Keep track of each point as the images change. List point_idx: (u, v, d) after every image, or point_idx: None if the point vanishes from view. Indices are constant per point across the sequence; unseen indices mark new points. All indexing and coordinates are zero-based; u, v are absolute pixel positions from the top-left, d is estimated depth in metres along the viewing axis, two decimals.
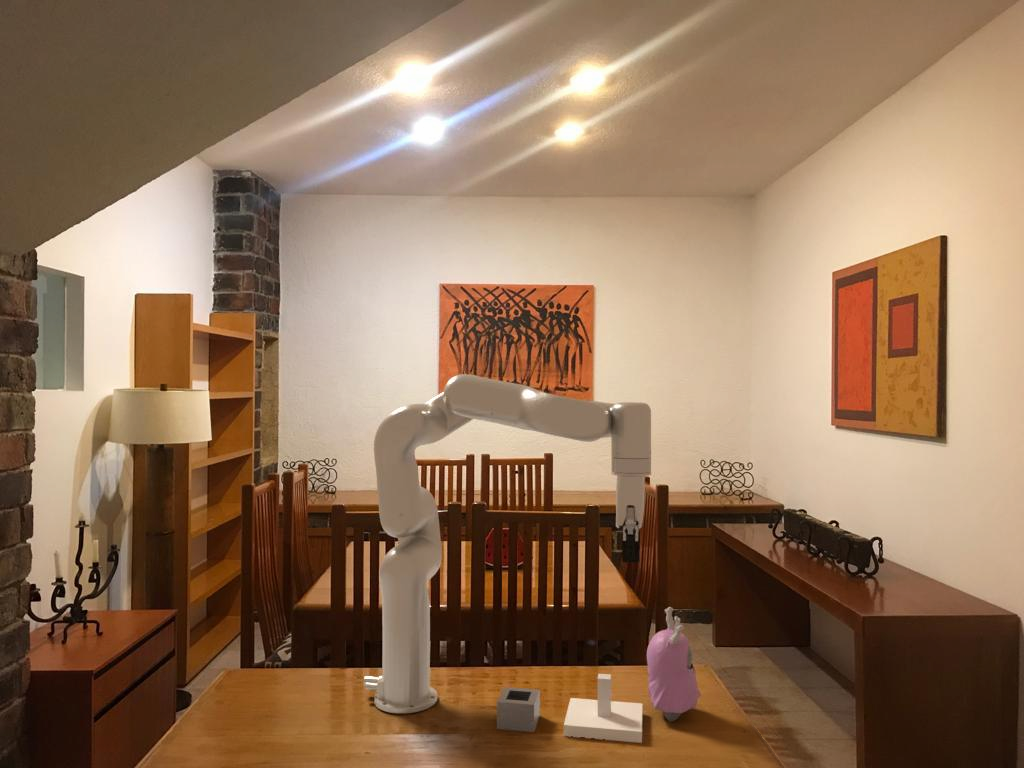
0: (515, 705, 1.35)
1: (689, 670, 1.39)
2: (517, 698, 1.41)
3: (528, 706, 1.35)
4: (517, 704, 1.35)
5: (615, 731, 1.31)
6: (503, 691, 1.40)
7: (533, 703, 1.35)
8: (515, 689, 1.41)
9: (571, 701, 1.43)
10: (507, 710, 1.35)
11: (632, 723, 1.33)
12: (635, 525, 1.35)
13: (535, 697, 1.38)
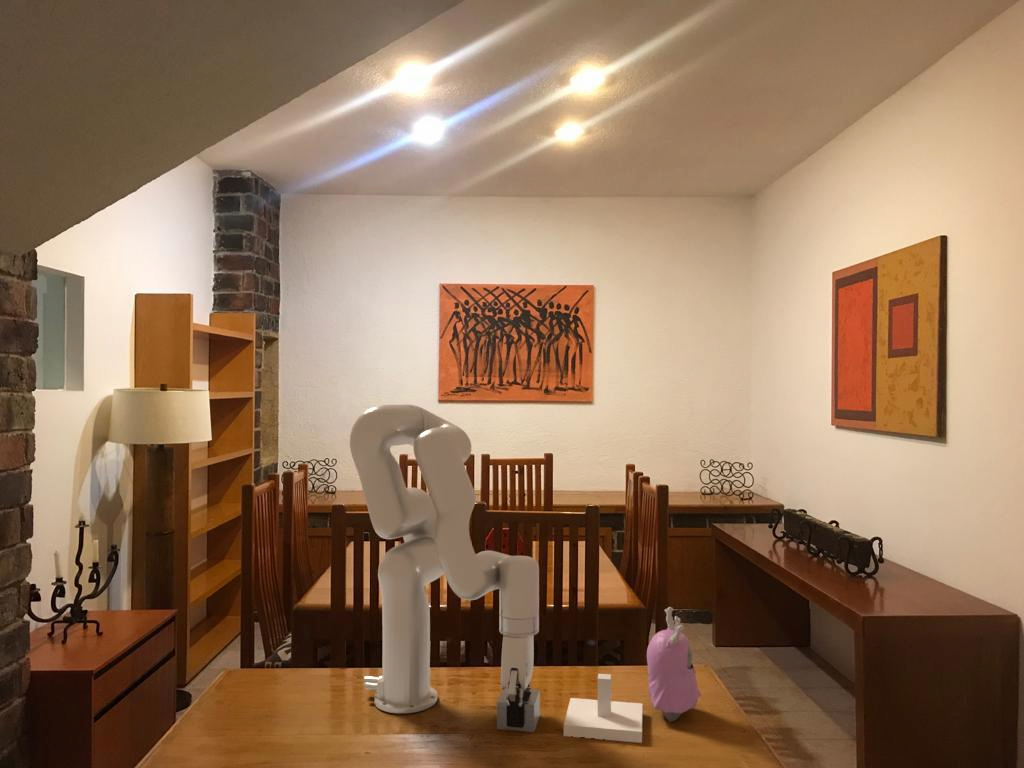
0: None
1: (689, 670, 1.39)
2: None
3: (528, 706, 1.34)
4: None
5: (615, 731, 1.31)
6: (503, 691, 1.40)
7: (533, 703, 1.35)
8: None
9: (571, 701, 1.43)
10: None
11: (632, 723, 1.33)
12: (519, 689, 1.34)
13: (535, 697, 1.38)
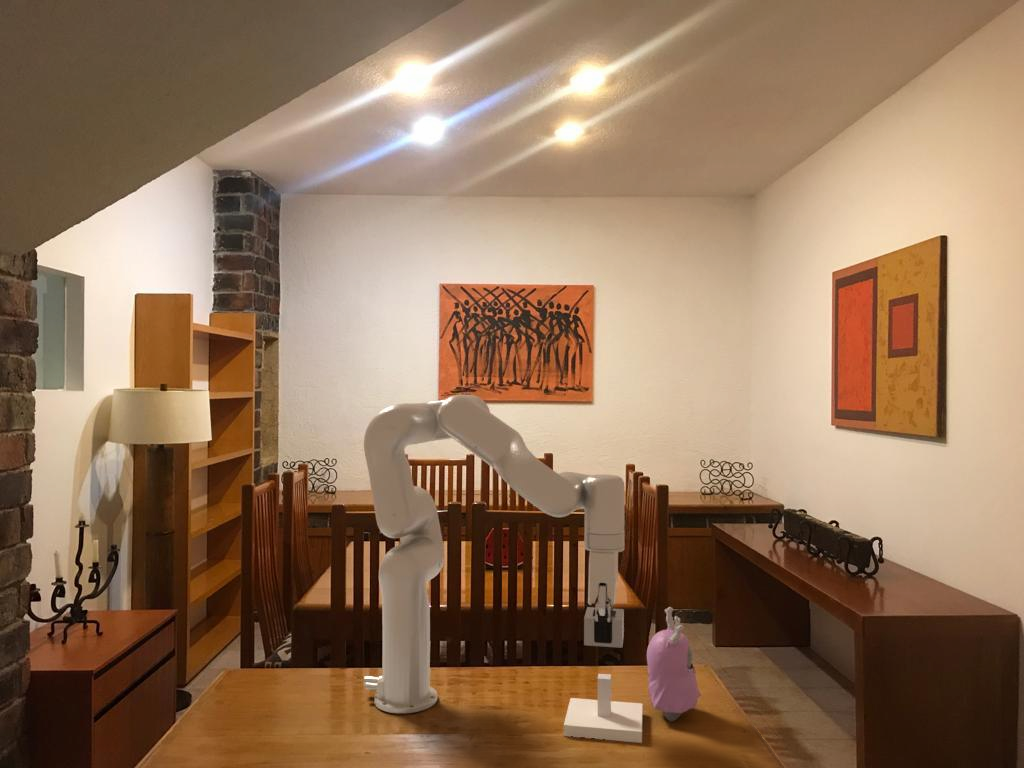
0: None
1: (689, 670, 1.39)
2: None
3: (616, 622, 1.34)
4: None
5: (615, 731, 1.31)
6: (588, 610, 1.40)
7: (621, 619, 1.34)
8: None
9: (571, 701, 1.43)
10: None
11: (632, 723, 1.33)
12: (607, 605, 1.34)
13: (621, 614, 1.37)
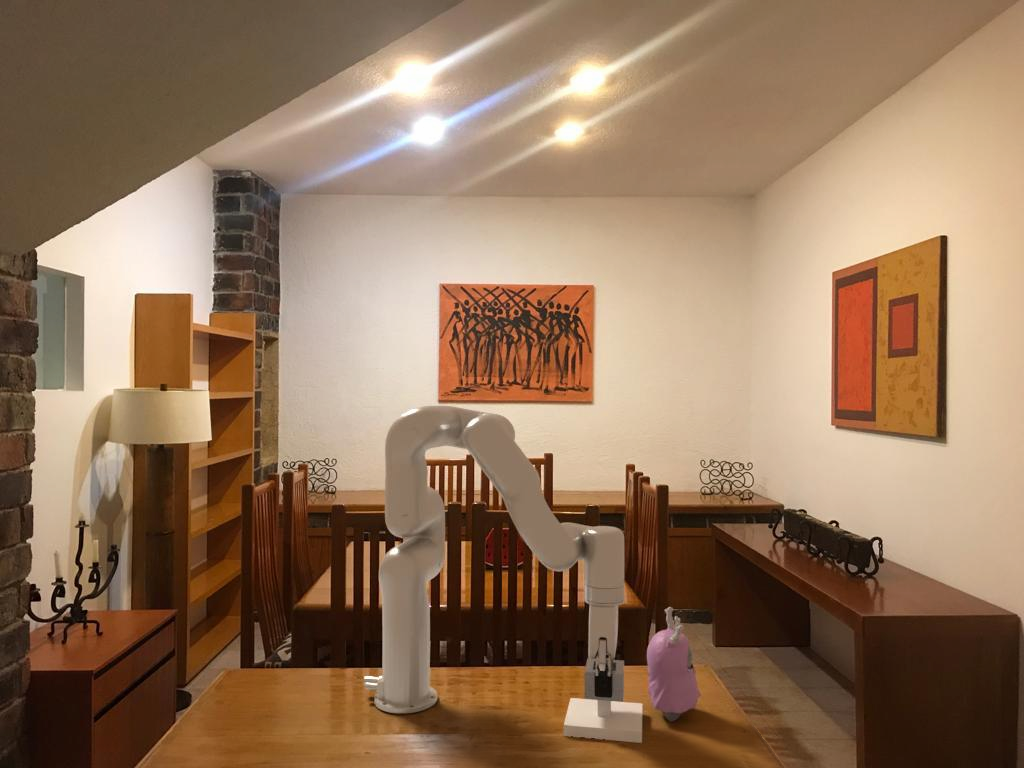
0: None
1: (689, 670, 1.39)
2: None
3: (617, 676, 1.34)
4: None
5: (615, 731, 1.31)
6: (588, 662, 1.39)
7: (621, 673, 1.34)
8: None
9: (571, 701, 1.43)
10: None
11: (632, 723, 1.33)
12: (608, 659, 1.33)
13: (622, 667, 1.37)
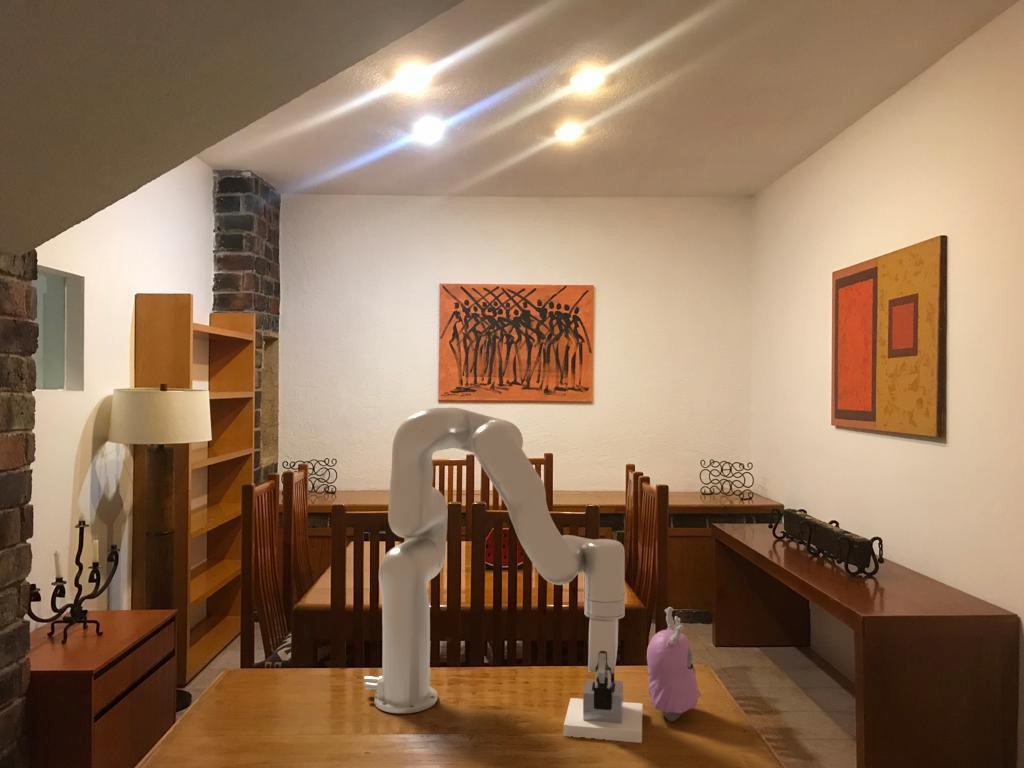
0: None
1: (689, 670, 1.39)
2: None
3: (615, 697, 1.34)
4: None
5: (615, 731, 1.31)
6: (587, 682, 1.40)
7: (620, 694, 1.34)
8: None
9: (571, 701, 1.43)
10: None
11: (632, 723, 1.33)
12: (607, 671, 1.33)
13: (620, 688, 1.37)
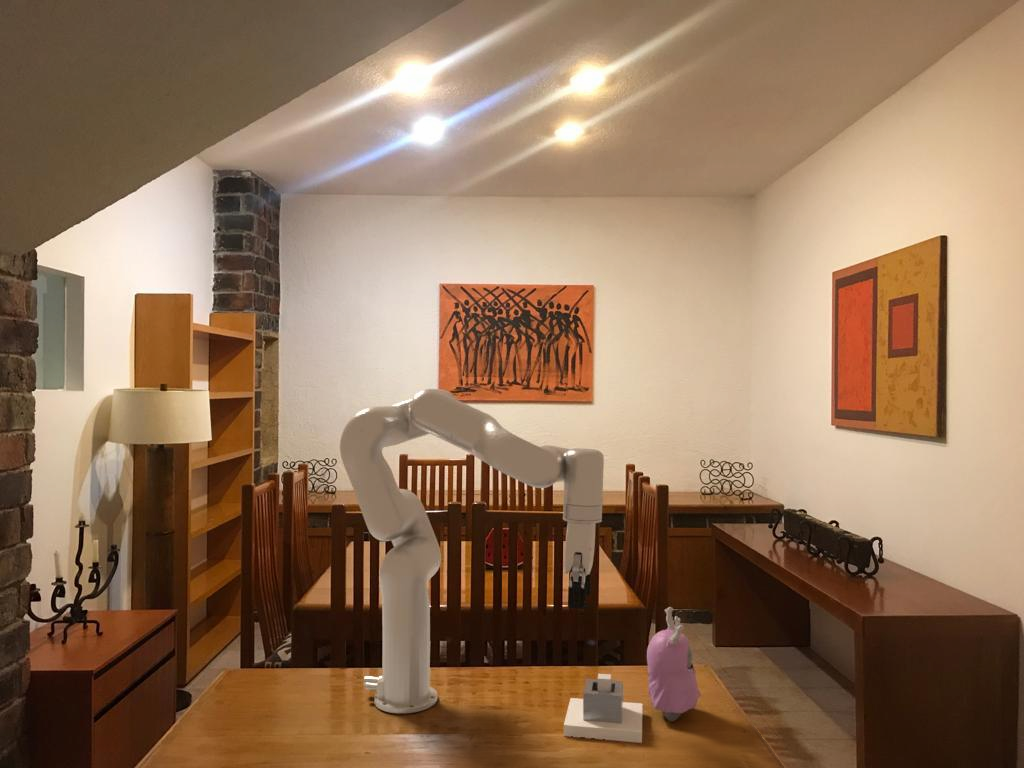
0: (602, 696, 1.34)
1: (689, 670, 1.39)
2: None
3: (615, 697, 1.34)
4: (604, 695, 1.34)
5: (615, 731, 1.31)
6: (587, 682, 1.40)
7: (620, 694, 1.34)
8: None
9: (571, 701, 1.43)
10: (594, 701, 1.34)
11: (632, 723, 1.33)
12: (582, 572, 1.37)
13: (620, 688, 1.37)
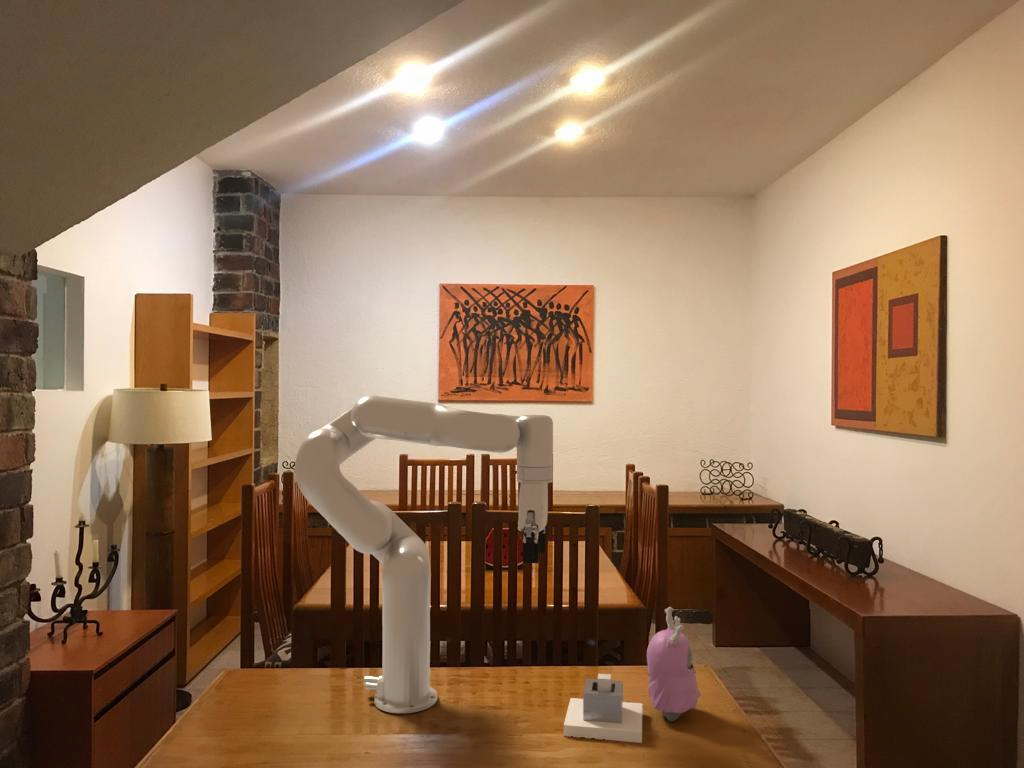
0: (602, 696, 1.34)
1: (689, 670, 1.39)
2: None
3: (615, 697, 1.34)
4: (604, 695, 1.34)
5: (615, 731, 1.31)
6: (587, 682, 1.40)
7: (620, 694, 1.34)
8: None
9: (571, 701, 1.43)
10: (594, 701, 1.34)
11: (632, 723, 1.33)
12: (535, 528, 1.47)
13: (620, 688, 1.37)
